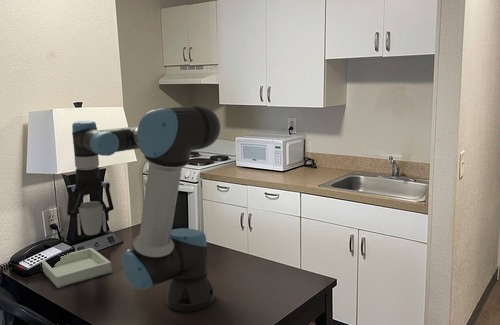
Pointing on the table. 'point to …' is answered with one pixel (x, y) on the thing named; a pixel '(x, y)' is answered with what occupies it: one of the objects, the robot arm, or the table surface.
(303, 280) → the table surface
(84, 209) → the cup
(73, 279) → the bin
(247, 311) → the table surface
